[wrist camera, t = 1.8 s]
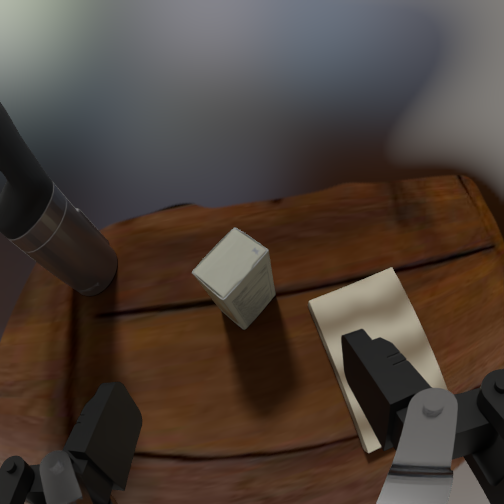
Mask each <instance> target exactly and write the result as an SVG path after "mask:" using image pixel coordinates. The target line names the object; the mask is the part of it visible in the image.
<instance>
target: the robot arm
mask: <svg viewBox="0 0 504 504" xmlns="http://www.w3.org/2000/svg"><path fill="white" fill-rule="evenodd" d="M0 171H1V172H2V173H3V174H4V176H5V177H6V179H7V182H6V184H5V186H4V188H3V190H2V192H1V194H0V232H1V233H2V234H3V235H4V236H5V237H7V238H8V239H9V240H10V241H11V242H12V243H14V244H15V245H16V246H17V247H18V248H20V249H21V250H22V251H23V252H25V253H26V254H27V255H29V256H30V257H31V258H32V259H34V260H35V261H36V262H37V263H39V264H40V265H41V266H43V267H44V268H45V269H47V270H48V271H49V272H51V273H52V274H53V275H55V276H56V277H57V278H59V279H60V280H62V281H63V282H64V283H66V284H67V285H69V286H70V287H72V288H73V289H75V290H76V291H78V292H79V293H81V294H82V295H85V296H93V295H96V294H98V293H100V292H102V291H103V290H104V289H105V288H106V287H107V286H108V285H109V284H110V282H111V281H112V279H113V277H114V275H115V273H116V269H117V256H116V253H115V252H114V250H113V249H112V248H111V247H110V246H109V241H108V240H107V239H106V238H105V237H104V236H103V235H102V234H101V233H100V231H99V230H98V229H97V228H96V227H95V226H94V225H93V224H92V223H91V222H90V220H89V219H88V218H87V217H86V216H85V215H84V214H83V212H82V211H81V210H80V209H75V207H74V206H73V205H72V204H71V203H70V202H69V201H68V199H67V198H66V197H65V196H64V195H63V194H62V192H61V191H60V190H59V189H58V187H57V186H56V185H55V184H54V183H53V181H52V180H51V179H50V178H49V176H48V175H47V174H46V172H45V171H44V170H43V168H42V167H41V165H40V164H39V162H38V161H37V159H36V158H35V156H34V155H33V154H32V152H31V151H30V149H29V148H28V146H27V145H26V143H25V142H24V140H23V139H22V137H21V136H20V134H19V132H18V130H17V129H16V127H15V125H14V124H13V122H12V120H11V118H10V116H9V115H8V113H7V112H6V110H5V108H4V107H3V106H2V104H1V103H0ZM341 345H342V355H343V366H344V373H345V377H346V380H347V383H348V385H349V387H350V389H351V391H352V392H353V394H354V396H355V398H356V400H357V402H358V404H359V405H360V407H361V409H362V411H363V413H364V415H365V417H366V418H367V420H368V422H369V424H370V426H371V428H372V430H373V432H374V433H375V435H376V437H377V439H378V441H379V443H380V445H381V447H382V449H383V451H385V450H388V449H390V448H392V447H394V448H395V450H396V454H395V457H394V460H393V463H392V466H391V468H390V470H389V473H388V475H387V478H386V480H385V483H384V486H383V488H382V491H381V493H380V496H379V498H378V501H377V503H376V504H447V503H448V499H449V495H450V491H451V487H452V482H453V471H451V460H452V459H456V458H459V457H462V456H463V457H464V458H465V460H466V462H467V463H468V465H469V467H470V468H471V470H472V472H473V473H474V475H475V477H476V478H477V480H478V482H479V484H480V485H481V487H482V489H483V490H484V493H485V494H486V496H487V498H488V500H489V502H490V503H491V504H504V369H499V370H495V371H492V372H490V373H489V374H488V375H486V377H485V378H484V379H483V381H482V384H481V387H480V388H478V389H474V390H471V391H468V392H464V393H461V394H455V395H453V394H452V393H451V392H449V391H448V390H445V389H442V388H432V387H431V386H430V385H429V384H428V383H427V381H426V380H425V379H424V378H423V377H422V376H421V375H420V373H419V372H418V371H417V370H416V369H415V368H414V367H413V365H412V364H411V363H410V362H409V361H407V360H406V358H405V356H404V355H403V354H402V353H400V351H399V350H398V349H397V348H396V346H395V345H394V344H393V343H392V342H390V341H387V340H385V339H383V338H381V337H379V338H376V339H374V340H372V339H371V338H370V336H369V335H368V334H367V333H366V332H365V330H364V329H359V330H356V331H353V332H350V333H347V334H344V335H342V336H341ZM80 415H81V416H79V418H78V420H77V424H75V426H74V428H73V430H72V432H71V434H70V436H69V438H68V440H67V442H66V444H65V446H64V448H63V450H62V451H53V452H51V453H49V454H48V455H46V456H45V457H44V458H43V460H42V461H41V463H40V464H39V465H30V466H29V465H28V464H27V463H26V462H25V461H24V460H23V459H22V458H21V457H20V456H12V457H9V458H8V459H7V460H5V461H4V463H3V464H2V466H1V468H0V504H24V502H25V499H26V500H28V501H29V502H30V503H31V504H117V502H116V500H115V498H114V497H113V496H112V495H111V491H112V489H113V490H122V491H125V487H126V482H127V478H128V474H129V471H130V467H131V463H132V459H133V455H134V452H135V448H136V444H137V441H138V437H139V434H140V430H141V426H142V416H141V413H140V410H139V409H138V407H137V406H136V404H135V402H134V401H133V399H132V398H131V396H130V395H129V393H128V391H127V390H126V388H125V386H124V385H123V384H122V383H121V382H111V383H102V384H101V385H100V386H99V388H98V390H97V392H96V394H95V396H94V397H93V398H92V399H91V400H90V401H89V402H88V403H87V404H86V405H85V406H84V408H83V410H82V412H81V414H80Z"/></svg>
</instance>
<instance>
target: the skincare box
mask: <svg viewBox="0 0 504 504" xmlns="http://www.w3.org/2000/svg"><path fill="white" fill-rule="evenodd" d="M192 273H193V275H194V276H195V277H196V279H197V280H198V281H199V283H200V284H201V285H202V287H203V288H204V289H205V290H206V292H207V293H208V294H209V296H210V297H211V298H212V299H213V301H214V302H215V303H216V305H217V306H218V307H219V308H220V310H221V311H222V312H223V313H224V314H226V315H227V316H228V317H229V318H230V319H231V320H232V321H233V322H235V323H236V324H237V325H238V326H239V327H241V328H242V329H244V330H245V329H246V328H247V327H248V326H249V325H250V324H251V323H252V322H253V321H254V320H255V319H256V318H257V316H258V315H259V314H260V313H261V312H262V311H263V309H264V308H265V307H266V306H267V305H268V303H269V302H270V301H271V300H272V298H273V297H274V296H275V289H274V283H273V276H272V270H271V264H270V257H269V251H268V249H267V248H265V247H264V246H262V245H261V244H260V243H258V242H257V241H255V240H254V239H252V238H251V237H250V236H248V235H247V234H245V233H244V232H242V231H240V230H239V229H237V228H233V229H232V230H231V231H230V232H229V233H228V234H227V235H226V236H225V237H224V238H223V239H222V240H221V241H220V242H219V243H218V244H217V245H216V246H215V247H214V248H213V249H212V250H211V251H210V252H209V253H208V254H207V256H206V257H205V258H204V259H203V260H202V261H201V262H200V263H199V264H198V266H197V267H196V268H195V269H194V270H193V271H192Z"/></svg>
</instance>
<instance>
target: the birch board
mask: <svg viewBox="0 0 504 504" xmlns="http://www.w3.org/2000/svg"><path fill="white" fill-rule="evenodd" d="M308 308H309V310H310V313H311V315H312V318H313V320H314V322H315V325H316V327H317V330H318V332H319V335H320V337H321V340H322V342H323V345H324V347H325V349H326V352H327V354H328V357H329V359H330V362H331V365H332V367H333V370H334V372H335V375H336V377H337V380H338V382H339V385H340V388H341V390H342V393H343V395H344V398H345V401H346V403H347V406H348V408H349V411H350V414H351V416H352V419H353V422H354V424H355V427H356V430H357V433H358V435H359V438H360V441H361V444H362V446H363V449H364V451H366V452H367V453H370V452H372V451H374V450H376V449H378V448H380V447H381V445H380V443H379V441H378V439H377V437H376V435H375V433H374V432H373V430H372V428H371V426H370V424H369V422H368V420H367V418H366V417H365V415H364V413H363V411H362V409H361V407H360V405H359V404H358V402H357V400H356V398H355V396H354V394H353V392H352V391H351V389H350V387H349V385H348V383H347V380H346V377H345V373H344V366H343V355H342V345H341V336H342V335H344V334H347V333H350V332H353V331H356V330H359V329H364V330H365V332H366V333H367V334H368V335H369V336H370V338H371V339H372V340H374V339H376V338H379V337H381V338H383V339H385V340H387V341H390V342H392V343H393V344H394V345H395V346H396V348H397V349H398V350H399V351H400V353H402V354H403V355H404V356H405V358H406V360H407V361H409V362H410V363H411V364H412V365H413V367H414V368H415V369H416V370H417V371H418V372H419V373H420V375H421V376H422V377H423V378H424V379H425V380H426V381H427V383H428V384H429V385H430V386H431V387H432V388H442V389H445V390H447V387H446V385H445V382H444V379H443V376H442V374H441V371H440V369H439V366H438V364H437V361H436V359H435V356H434V354H433V351H432V349H431V347H430V344H429V342H428V340H427V337H426V335H425V333H424V331H423V328H422V326H421V324H420V322H419V320H418V318H417V315H416V313H415V311H414V309H413V307H412V305H411V303H410V301H409V299H408V297H407V295H406V293H405V291H404V289H403V287H402V285H401V283H400V281H399V279H398V278H397V276H396V274H395V272H394V270H393V268H392V267H391V268H389V269H387V270H384V271H382V272H380V273H377V274H375V275H373V276H370V277H368V278H365V279H363V280H361V281H358V282H356V283H353V284H351V285H348V286H346V287H343V288H341V289H338V290H336V291H333V292H331V293H328V294H326V295H323V296H320V297H318V298H315V299H313V300H310V301H309V303H308Z"/></svg>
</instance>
